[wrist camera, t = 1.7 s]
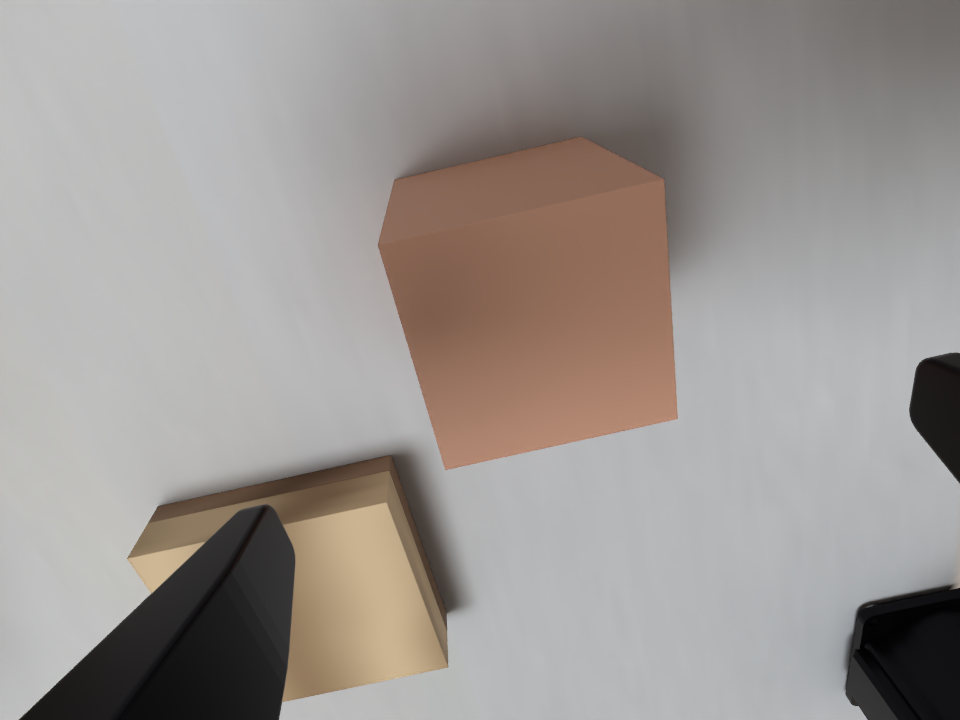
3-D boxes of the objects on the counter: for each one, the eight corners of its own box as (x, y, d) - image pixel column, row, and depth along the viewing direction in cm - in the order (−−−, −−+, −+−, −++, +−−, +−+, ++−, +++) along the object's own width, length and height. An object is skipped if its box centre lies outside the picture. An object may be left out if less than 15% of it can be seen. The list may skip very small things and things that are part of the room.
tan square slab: (389, 470, 19) (386, 502, 17) (446, 631, 22) (448, 667, 21) (148, 523, 19) (127, 558, 18) (245, 673, 23) (234, 712, 21)
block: (580, 136, 15) (664, 179, 10) (601, 309, 18) (677, 419, 12) (394, 179, 15) (378, 245, 10) (439, 345, 18) (445, 470, 12)
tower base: (391, 442, 20) (389, 469, 19) (446, 598, 24) (447, 630, 22) (166, 492, 20) (148, 522, 19) (255, 639, 24) (245, 673, 23)
